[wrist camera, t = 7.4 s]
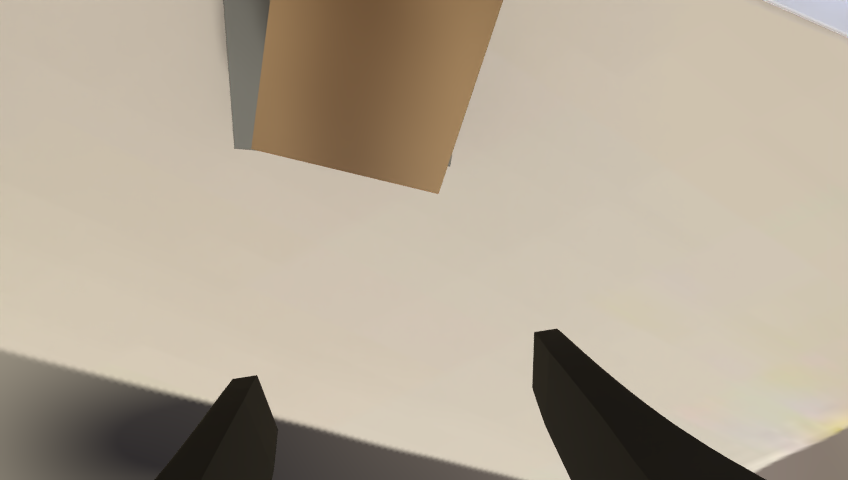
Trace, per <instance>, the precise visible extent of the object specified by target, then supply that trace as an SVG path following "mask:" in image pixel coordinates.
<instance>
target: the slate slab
mask: <svg viewBox="0 0 848 480" xmlns="http://www.w3.org/2000/svg"><path fill="white" fill-rule="evenodd" d="M223 4H224V17H225V30H226V44H227V57H228V70H229V83H230V96H231V109H232V122H233V136H234V149H245V150H253V149H251V147H252V139H253V131H254V123H255V116H256V108H257V100H258V92H259V84H260V77H261V69H262V61H263V53H264V45H265V38H266V30H267V22H268V14H269V6H270V0H223ZM257 151H258V150H257ZM451 158H452V155H451ZM451 158H450V161H449V164H448V166H450V164H451Z"/></svg>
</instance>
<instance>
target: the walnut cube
mask: <svg viewBox="0 0 848 480" xmlns="http://www.w3.org/2000/svg"><path fill="white" fill-rule="evenodd" d="M502 2H503V0H270V6H269V14H268V22H267V30H266V38H265V45H264V53H263V61H262V69H261V77H260V84H259V92H258V100H257V108H256V116H255V123H254V131H253V139H252V147H251V149H253V150H258V151H262V152H266V153H270V154H274V155H278V156H283V157H287V158H291V159H295V160H299V161H303V162H308V163H312V164H316V165H320V166H324V167H328V168H333V169H337V170H341V171H345V172H349V173H353V174H358V175H362V176H366V177H370V178H374V179H378V180H382V181H387V182H391V183H395V184H399V185H403V186H407V187H412V188H416V189H420V190H424V191H428V192H432V193H437V194H438V193H439V190H440V187H441V185H442V182H443V179H444V176H445V173H446V170H447V167H448V164H449V161H450V158H451V155H452V152H453V149H454V146H455V143H456V140H457V137H458V134H459V131H460V128H461V125H462V122H463V119H464V116H465V113H466V110H467V107H468V104H469V101H470V98H471V95H472V92H473V89H474V86H475V83H476V80H477V77H478V74H479V71H480V68H481V65H482V62H483V59H484V56H485V53H486V50H487V47H488V44H489V41H490V38H491V35H492V32H493V29H494V26H495V23H496V20H497V17H498V14H499V11H500V8H501V5H502Z"/></svg>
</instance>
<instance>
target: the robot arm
mask: <svg viewBox="0 0 848 480" xmlns="http://www.w3.org/2000/svg"><path fill="white" fill-rule="evenodd" d="M763 1H765V2H767V3H770V4H772V5H774V6H777V7H779V8H781V9H783V10H786V11H788V12H790V13H792V14H795V15H797V16H799V17H802V18H804V19H806V20H808V21H811V22H813V23H815V24H818V25H820V26H822V27H824V28H827V29H829V30H831V31H834V32H836V33H838V34H840V35H843V36H845V37H847V38H848V0H763ZM532 388H533V391H534V394H535V397H536V400H537V403H538V406H539V409H540V412H541V415H542V418H543V420H544V423H545V426H546V428H547V430H548V432H549V434H550V437H551V439H552V441H553V443H554V445H555V447H556V449H557V452H558V454H559V456H560V458H561V460H562V462H563V464H564V466H565V468H566V470H567V473H568V475H569V477H570V479H571V480H765V479H764V478H762V477H760V476H758V475H757V474H755V473H753V472H751V471H750V470H748V469H746V468H744V467H743V466H741V465H739V464H737V463H735V462H734V461H732V460H730V459H728V458H727V457H725V456H723V455H722V454H720V453H718V452H717V451H715V450H713V449H712V448H710V447H708V446H707V445H705V444H704V443H702V442H701V441H699V440H698V439H696V438H694V437H693V436H691V435H690V434H688V433H687V432H685V431H684V430H682V429H681V428H679V427H678V426H676V425H675V424H673V423H672V422H670V421H669V420H668V419H666V418H665V417H663V416H662V415H661V414H659V413H658V412H656V411H655V410H654V409H652V408H651V407H650V406H648V405H647V404H646V403H644V402H643V401H642V400H640V399H639V398H638V397H637V396H635V395H634V394H633V393H631V392H630V391H629V390H628V389H626V388H625V387H624V386H623V385H622V384H620V383H619V382H618V381H617V380H615V379H614V378H613V377H612V376H611V375H609V374H608V373H607V372H606V371H605V370H603V369H602V368H601V367H600V366H599V365H598V364H596V363H595V362H594V361H593V360H592V359H591V358H590V357H588V356H587V355H586V354H585V353H584V352H583V351H582V350H581V349H579V348H578V347H577V346H576V345H575V344H574V343H573V342H572V341H571V340H569V339H568V338H567V337H566V336H565V335H564V334H563V333H562V332H560V331H559V330H558V329H552V330H546V331H539V332H534V357H533V386H532ZM277 433H278V429H277V426H276V423H275V421H274V418H273V415H272V413H271V410H270V408H269V405H268V402H267V400H266V397H265V395H264V392H263V389H262V387H261V384H260V382H259V379H258V376H257V375H256V376H250V377H243V378H237V379H233V380H232V381H231V382H230V383H229V385H228V386H227V387H226V388H225V390H224V391H223V392H222V394H221V395H220V396H219V398H218V399H217V400H216V402H215V403H214V404H213V406H212V407H211V408H210V410H209V411H208V412H207V414H206V415H205V416H204V418H203V419H202V421H201V422H200V423H199V424H198V426H197V427H196V428H195V430H194V431H193V432H192V434H191V435H190V436H189V438H188V439H187V440H186V441H185V443H184V444H183V445H182V446H181V448H180V449H179V450H178V452H177V453H176V454H175V455H174V457H173V458H172V459H171V461H170V462H169V463H168V464H167V466H166V467H165V468H164V469H163V470H162V471H161V473H160V474H159V475H158V476H157V477H156V479H155V480H272V476H273V471H274V463H275V454H276V444H277Z"/></svg>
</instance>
